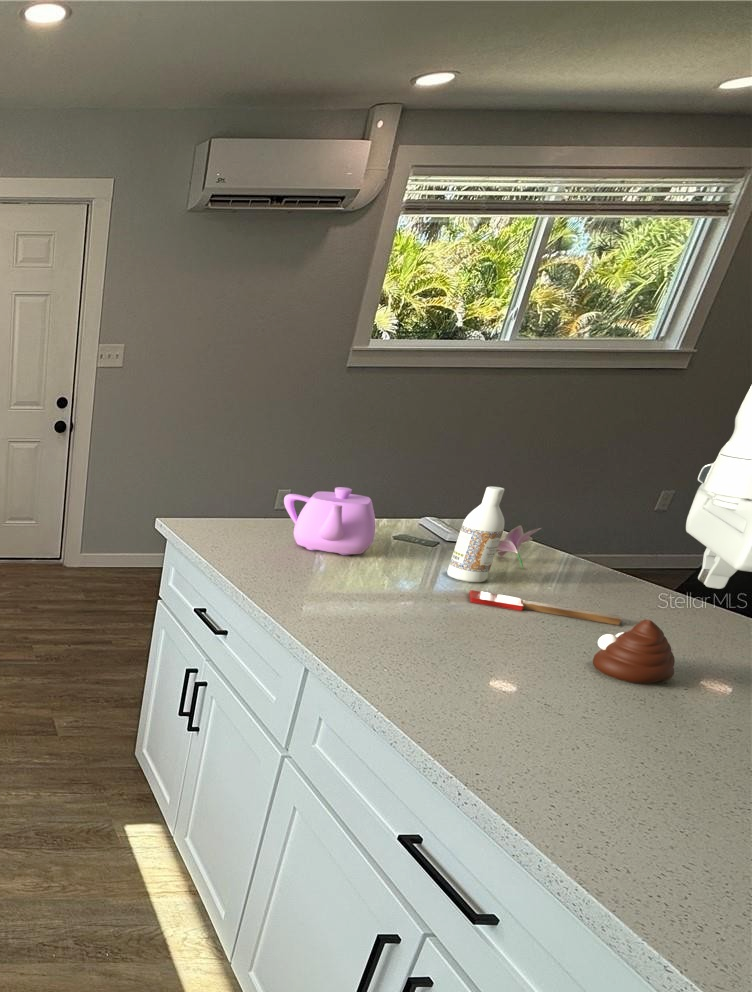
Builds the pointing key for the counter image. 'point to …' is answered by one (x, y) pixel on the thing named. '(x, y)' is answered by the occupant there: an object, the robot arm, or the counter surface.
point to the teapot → (333, 521)
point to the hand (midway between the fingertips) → (709, 584)
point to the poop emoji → (636, 654)
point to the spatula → (539, 607)
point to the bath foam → (478, 539)
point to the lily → (514, 541)
